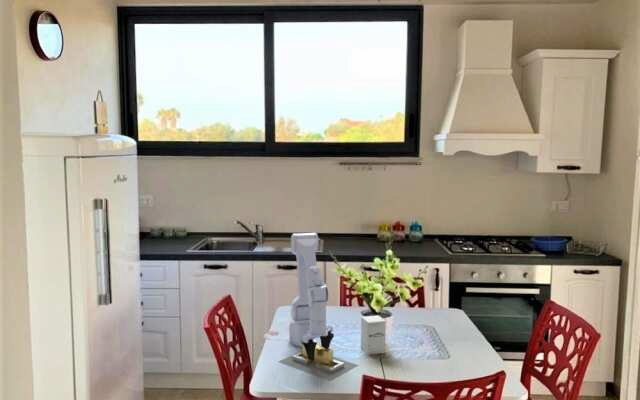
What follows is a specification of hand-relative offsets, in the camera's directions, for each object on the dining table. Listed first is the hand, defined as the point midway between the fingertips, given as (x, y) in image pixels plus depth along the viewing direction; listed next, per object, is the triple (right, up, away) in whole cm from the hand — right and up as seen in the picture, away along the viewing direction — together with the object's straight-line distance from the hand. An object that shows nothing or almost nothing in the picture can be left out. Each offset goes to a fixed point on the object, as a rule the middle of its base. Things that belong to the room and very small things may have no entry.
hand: (317, 356), depth 183 cm
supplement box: (+21, -2, +13) cm, 25 cm away
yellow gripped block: (0, -3, 0) cm, 3 cm away
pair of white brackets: (0, -3, 0) cm, 3 cm away
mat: (0, -3, 0) cm, 3 cm away
